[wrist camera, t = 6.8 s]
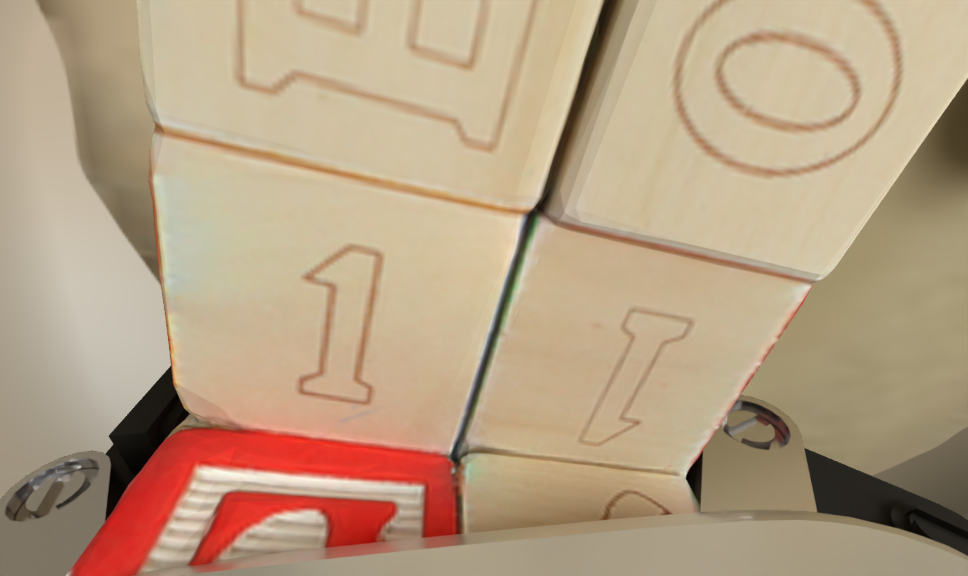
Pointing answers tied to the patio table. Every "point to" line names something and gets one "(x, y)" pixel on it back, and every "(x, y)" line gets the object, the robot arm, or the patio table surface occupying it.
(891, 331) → the patio table surface
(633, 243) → the stack of blocks
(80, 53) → the patio table surface
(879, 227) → the patio table surface
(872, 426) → the patio table surface
